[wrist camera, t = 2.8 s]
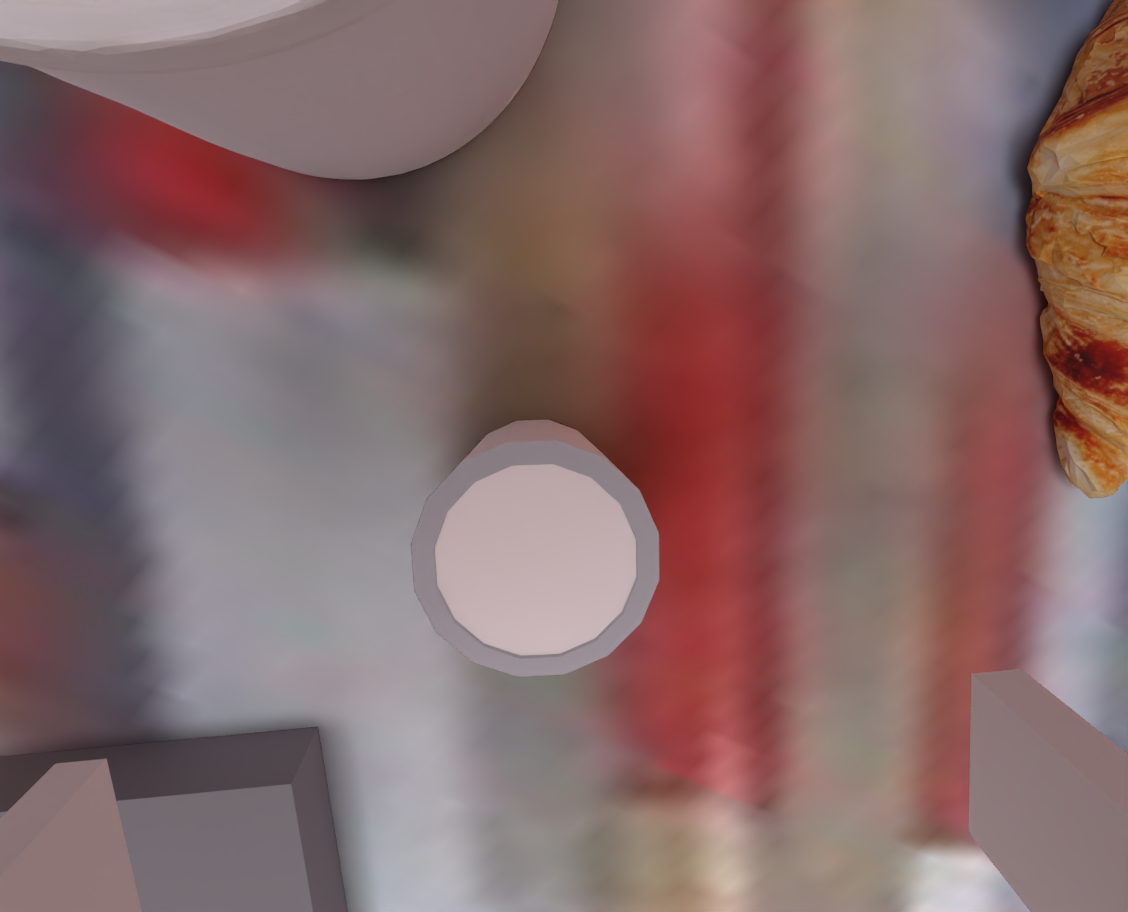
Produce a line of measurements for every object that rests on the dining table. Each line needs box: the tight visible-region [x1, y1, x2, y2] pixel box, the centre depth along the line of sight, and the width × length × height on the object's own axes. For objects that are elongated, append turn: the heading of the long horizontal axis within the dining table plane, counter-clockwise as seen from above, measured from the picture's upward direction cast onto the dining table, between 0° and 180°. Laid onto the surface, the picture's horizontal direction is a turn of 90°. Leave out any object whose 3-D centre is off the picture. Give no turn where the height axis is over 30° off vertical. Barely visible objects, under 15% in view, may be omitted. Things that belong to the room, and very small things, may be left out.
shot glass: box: [411, 419, 659, 677], centre depth 26 cm, size 7×7×7 cm
